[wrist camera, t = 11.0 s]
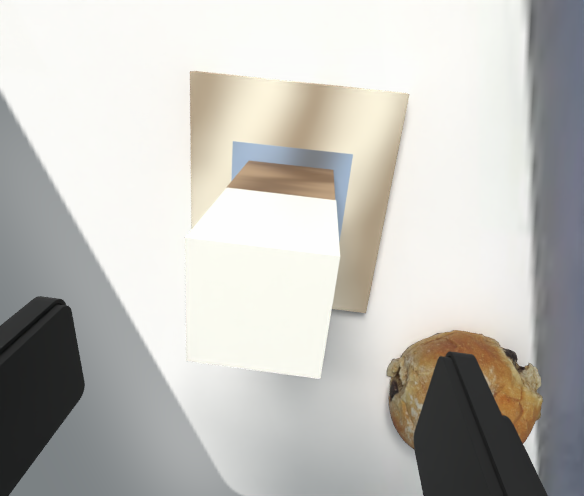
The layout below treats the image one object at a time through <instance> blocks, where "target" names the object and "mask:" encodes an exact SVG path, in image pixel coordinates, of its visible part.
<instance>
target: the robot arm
mask: <svg viewBox="0 0 584 496" xmlns="http://www.w3.org/2000/svg"><path fill="white" fill-rule="evenodd" d="M84 386H85V384H84V378H83V373H82V367H81V361H80V355H79V350H78V345H77V339H76V333H75V328H74V322H73V317H72V312H71V308H70V307H69V306H66V303H65V302H64V301H63V300H62V299H56V298H48V297H41V296H40V297H36V298H34V299H33V300H31V301H30V302H29V303H28V304H27V305H25V306H24V307H23V308H22V309H20V310H19V311H18V312H17V313H15V314H14V315H13V316H12V317H11V318H9V319H8V320H7V321H6V322H4V323H3V324H2V325H1V326H0V496H9V494H10V493H11V492H12V490H13V489H14V487H15V486H16V485H17V483H18V482H19V481H20V479H21V478H22V477H23V475H24V474H25V473H26V471H27V470H28V469H29V467H30V466H31V465H32V463H33V462H34V460H35V459H36V458H37V456H38V455H39V454H40V452H41V451H42V450H43V448H44V447H45V445H46V444H47V443H48V442H49V440H50V439H51V438H52V436H53V435H54V433H55V432H56V431H57V429H58V428H59V427H60V425H61V424H62V423H63V421H64V420H65V419H66V417H67V416H68V415H69V413H70V412H71V410H72V409H73V408H74V406H75V405H76V404H77V402H78V401H79V400H80V398H81V396H82V394H83V391H84ZM414 450H415V455H416V460H417V465H418V470H419V475H420V480H421V485H422V490H423V495H424V496H547V493H546V491H545V489H544V487H543V485H542V483H541V481H540V479H539V477H538V475H537V473H536V470H535V468H534V466H533V464H532V462H531V460H530V458H529V456H528V454H527V452H526V450H525V447H524V445H523V443H522V441H521V439H520V437H519V435H518V433H517V431H516V429H515V426H514V425H513V423H512V421H511V420H510V419H509V418H508V417H507V416H505V415H502V414H501V412H500V409H499V407H498V405H497V403H496V401H495V399H494V396H493V394H492V392H491V390H490V388H489V385H488V383H487V381H486V379H485V377H484V375H483V372H482V370H481V368H480V366H479V364H478V362H477V359H476V358H475V356H474V355H472V354H466V353H459V352H451V351H449V352H448V353H447V354H446V356H445V357H443V356H440V357H439V358H438V360H437V363H436V366H435V369H434V372H433V375H432V378H431V381H430V385H429V388H428V391H427V394H426V397H425V400H424V403H423V406H422V410H421V413H420V416H419V419H418V422H417V425H416V428H415V432H414Z"/></svg>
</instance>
